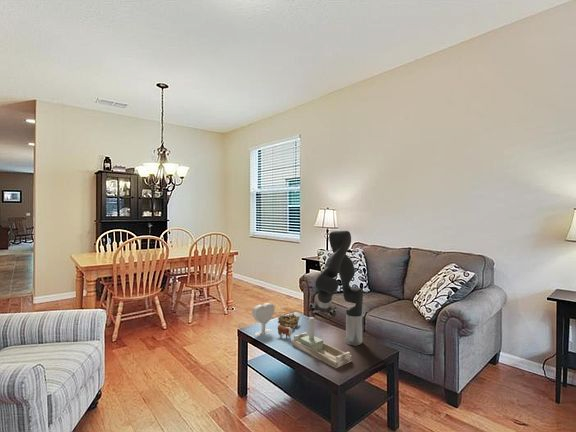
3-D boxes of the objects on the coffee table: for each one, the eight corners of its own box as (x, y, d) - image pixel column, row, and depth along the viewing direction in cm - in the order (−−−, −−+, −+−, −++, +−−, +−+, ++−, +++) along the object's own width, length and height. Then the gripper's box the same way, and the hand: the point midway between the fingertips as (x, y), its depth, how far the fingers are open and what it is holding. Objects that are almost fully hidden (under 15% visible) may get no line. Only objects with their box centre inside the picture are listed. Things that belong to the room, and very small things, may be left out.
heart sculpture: (256, 336, 199) (256, 307, 198) (251, 334, 202) (251, 305, 202) (275, 330, 209) (275, 303, 209) (270, 328, 213) (270, 301, 212)
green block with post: (310, 342, 187) (311, 314, 187) (323, 348, 179) (323, 319, 179) (300, 346, 182) (300, 317, 181) (312, 353, 174) (312, 322, 174)
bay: (307, 341, 192) (307, 331, 192) (351, 363, 166) (351, 351, 166) (292, 346, 185) (292, 336, 184) (335, 370, 158) (335, 358, 158)
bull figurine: (290, 343, 189) (290, 329, 189) (276, 336, 199) (276, 323, 199) (295, 341, 192) (295, 328, 192) (281, 334, 202) (281, 321, 202)
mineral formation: (275, 325, 218) (292, 319, 228) (288, 334, 208) (305, 327, 218) (276, 314, 217) (293, 308, 226) (288, 323, 207) (306, 317, 216)
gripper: (339, 297, 161) (335, 312, 173) (311, 291, 163) (310, 306, 175) (336, 311, 156) (333, 325, 168) (308, 304, 159) (307, 318, 170)
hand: (321, 315), depth 172 cm, fingers open, 8 cm apart
